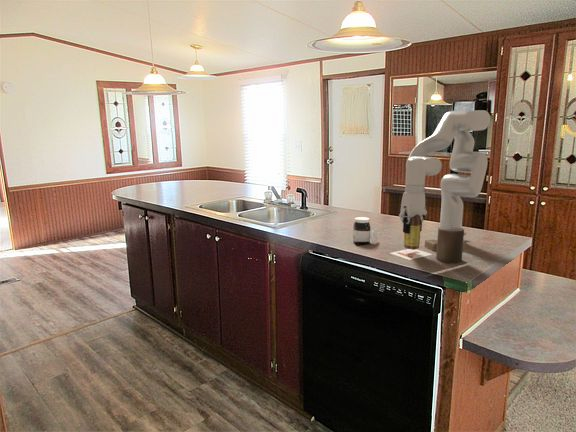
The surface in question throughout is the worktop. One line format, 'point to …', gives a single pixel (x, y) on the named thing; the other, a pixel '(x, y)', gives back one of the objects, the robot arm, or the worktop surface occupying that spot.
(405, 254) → the board
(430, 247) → the walnut block
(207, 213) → the worktop surface
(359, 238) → the spread jar
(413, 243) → the sauce bottle
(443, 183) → the robot arm
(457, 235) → the brown cylindrical pedestal
